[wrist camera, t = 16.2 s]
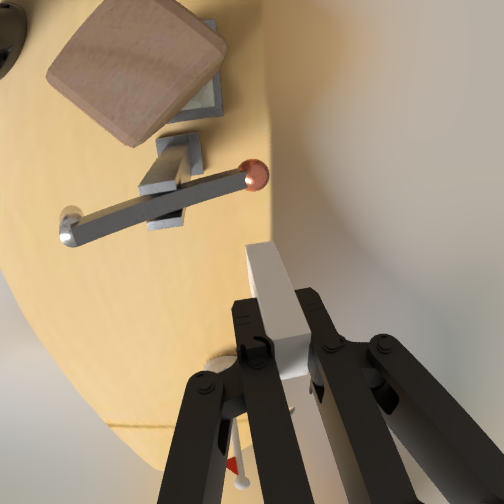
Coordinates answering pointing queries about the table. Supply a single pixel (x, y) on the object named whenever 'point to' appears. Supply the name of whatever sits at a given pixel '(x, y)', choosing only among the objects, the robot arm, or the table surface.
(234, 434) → the flag stand
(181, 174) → the press
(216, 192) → the lever
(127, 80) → the wooden block
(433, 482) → the robot arm
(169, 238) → the table surface
